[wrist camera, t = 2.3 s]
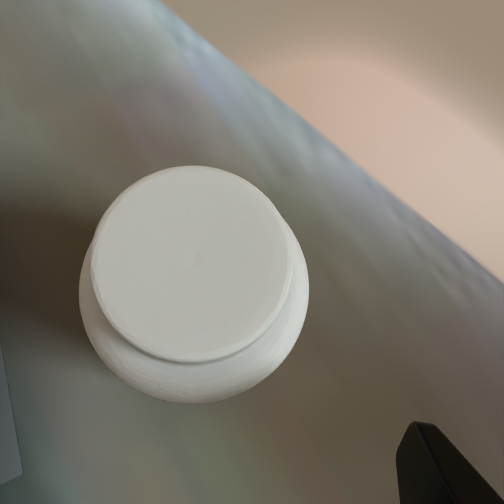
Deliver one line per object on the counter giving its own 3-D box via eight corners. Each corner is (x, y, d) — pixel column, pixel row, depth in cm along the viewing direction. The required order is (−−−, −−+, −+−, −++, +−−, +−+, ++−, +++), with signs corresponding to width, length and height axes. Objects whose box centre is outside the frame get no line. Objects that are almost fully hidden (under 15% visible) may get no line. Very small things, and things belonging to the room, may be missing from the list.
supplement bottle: (280, 270, 20) (351, 155, 10) (258, 407, 18) (318, 435, 8) (148, 245, 19) (86, 104, 10) (115, 383, 18) (1, 381, 8)
